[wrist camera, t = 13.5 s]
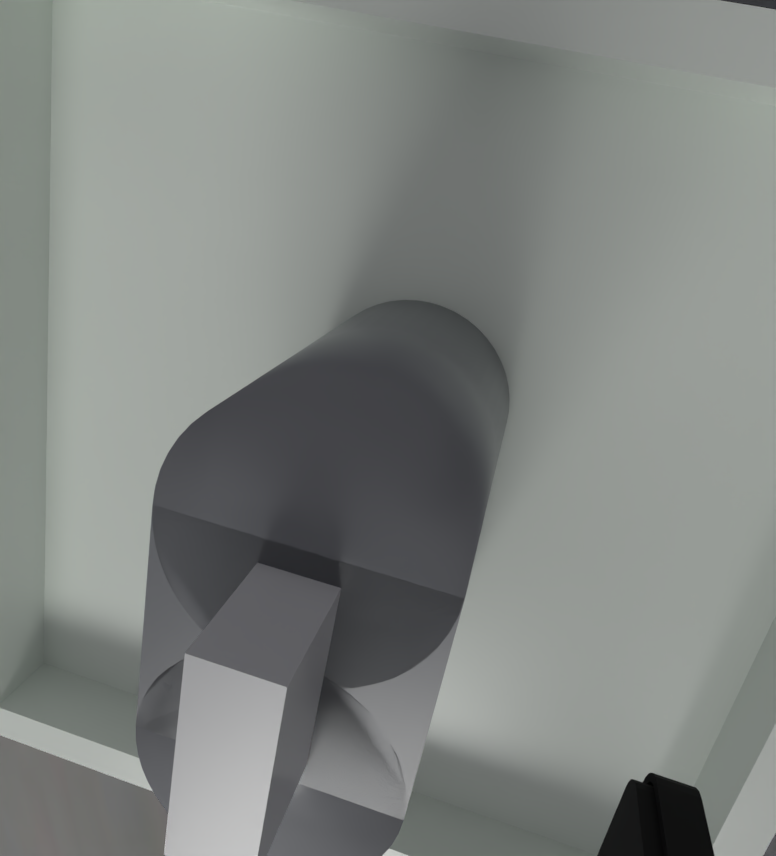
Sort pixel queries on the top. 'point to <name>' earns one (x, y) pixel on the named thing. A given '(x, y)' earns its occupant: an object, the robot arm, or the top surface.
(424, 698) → the plug
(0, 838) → the top surface
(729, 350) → the tray
